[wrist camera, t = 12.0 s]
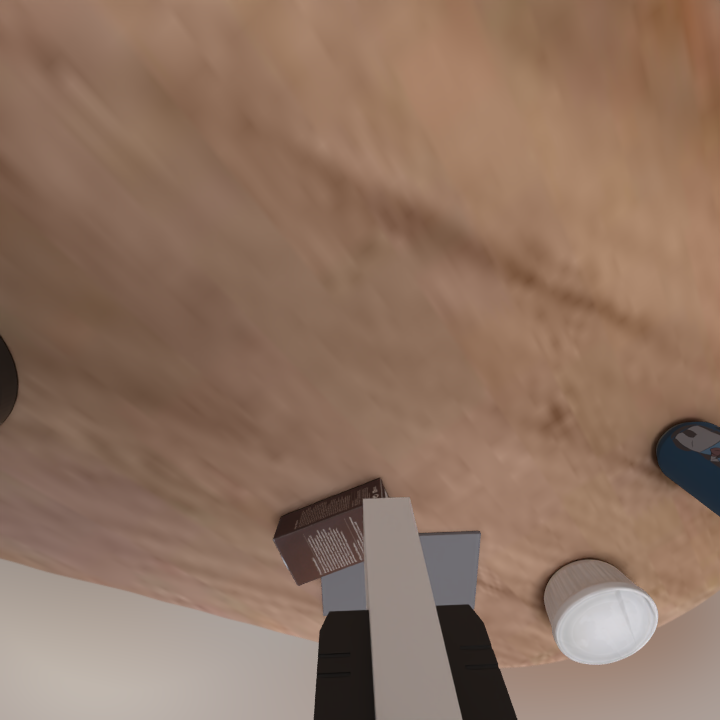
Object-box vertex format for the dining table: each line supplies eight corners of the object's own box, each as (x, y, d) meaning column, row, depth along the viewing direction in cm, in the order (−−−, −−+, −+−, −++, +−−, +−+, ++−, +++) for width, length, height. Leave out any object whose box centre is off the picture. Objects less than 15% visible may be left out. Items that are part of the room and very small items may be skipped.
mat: (323, 612, 49) (323, 615, 48) (319, 537, 45) (318, 539, 45) (473, 606, 49) (474, 609, 49) (479, 531, 46) (480, 533, 45)
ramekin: (647, 574, 49) (681, 613, 44) (585, 635, 51) (611, 679, 46) (576, 535, 47) (604, 572, 41) (516, 601, 49) (535, 643, 44)
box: (381, 475, 44) (279, 515, 44) (384, 497, 39) (270, 541, 40) (402, 521, 45) (302, 559, 46) (407, 549, 40) (296, 590, 41)
